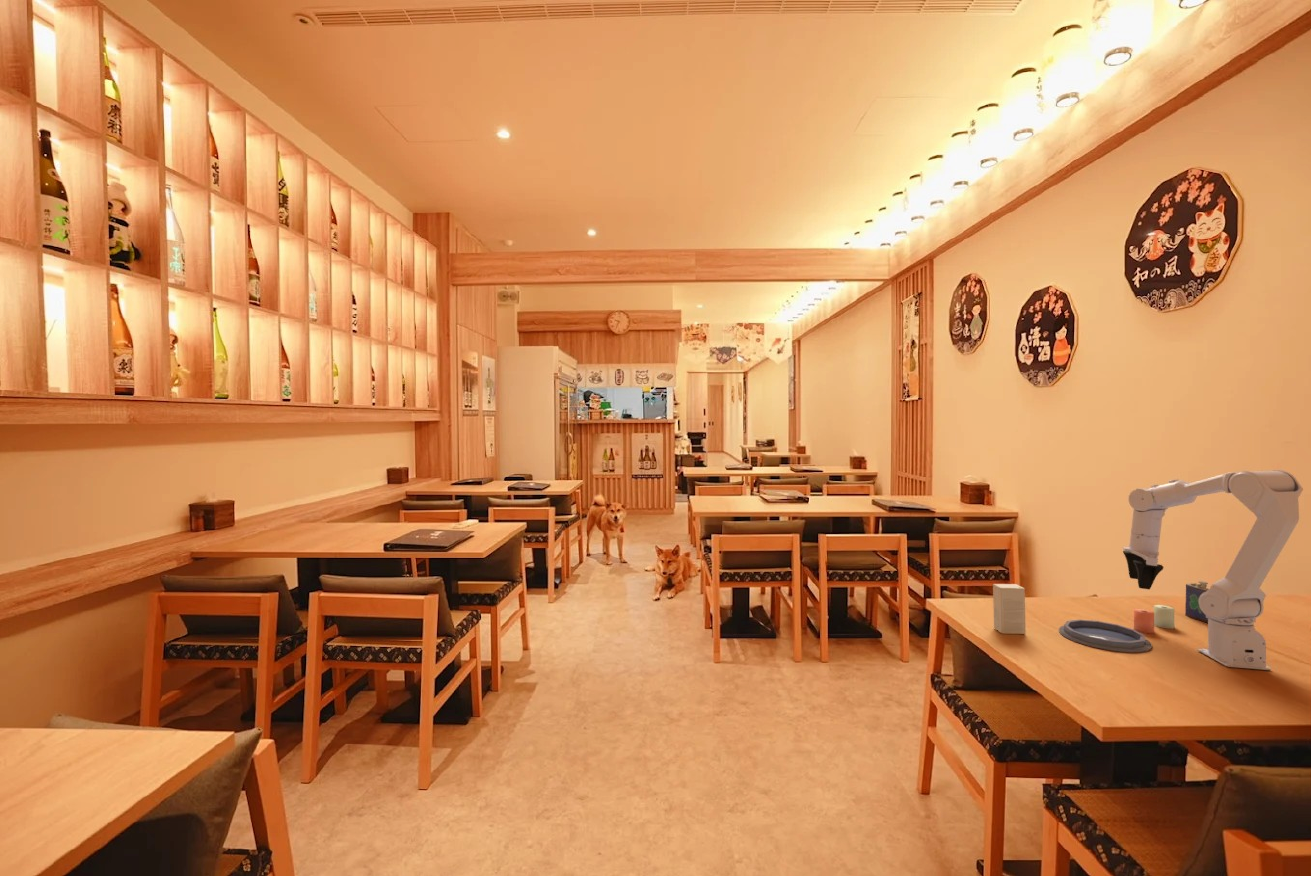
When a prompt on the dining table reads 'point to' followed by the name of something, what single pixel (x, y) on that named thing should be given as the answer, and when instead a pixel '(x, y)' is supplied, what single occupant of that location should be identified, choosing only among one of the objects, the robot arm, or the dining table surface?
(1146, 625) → the vermilion bead
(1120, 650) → the round tray
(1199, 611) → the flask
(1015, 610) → the skincare box
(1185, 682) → the dining table surface
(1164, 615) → the sage bead
